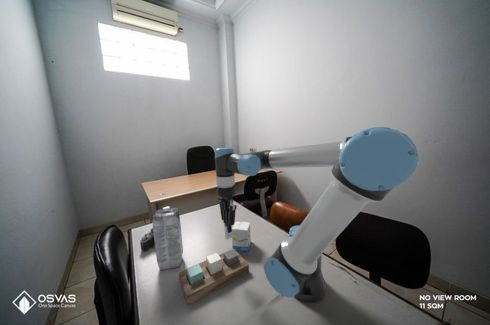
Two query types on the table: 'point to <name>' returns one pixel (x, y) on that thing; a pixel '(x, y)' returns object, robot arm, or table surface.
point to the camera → (147, 241)
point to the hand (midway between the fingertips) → (228, 237)
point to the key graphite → (231, 258)
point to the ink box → (241, 236)
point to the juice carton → (167, 238)
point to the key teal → (195, 274)
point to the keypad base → (212, 278)
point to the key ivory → (214, 263)
